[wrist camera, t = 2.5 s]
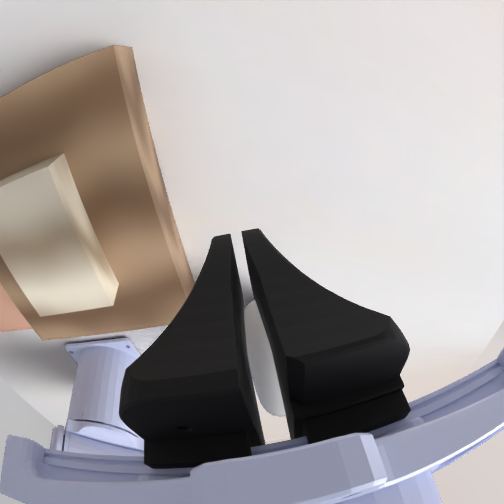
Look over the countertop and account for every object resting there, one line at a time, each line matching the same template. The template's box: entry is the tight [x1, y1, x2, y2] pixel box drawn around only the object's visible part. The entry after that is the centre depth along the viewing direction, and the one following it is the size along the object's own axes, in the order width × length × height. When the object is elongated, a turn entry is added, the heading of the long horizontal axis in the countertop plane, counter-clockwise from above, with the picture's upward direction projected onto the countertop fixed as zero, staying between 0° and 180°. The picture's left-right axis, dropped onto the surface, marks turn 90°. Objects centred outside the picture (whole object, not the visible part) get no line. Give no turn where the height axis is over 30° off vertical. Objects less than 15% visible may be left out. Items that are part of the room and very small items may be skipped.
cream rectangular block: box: [0, 153, 119, 317], centre depth 15 cm, size 9×6×2 cm, turn 8°
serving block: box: [0, 45, 195, 340], centre depth 17 cm, size 18×14×4 cm
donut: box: [244, 300, 286, 417], centre depth 24 cm, size 10×4×10 cm, turn 12°
